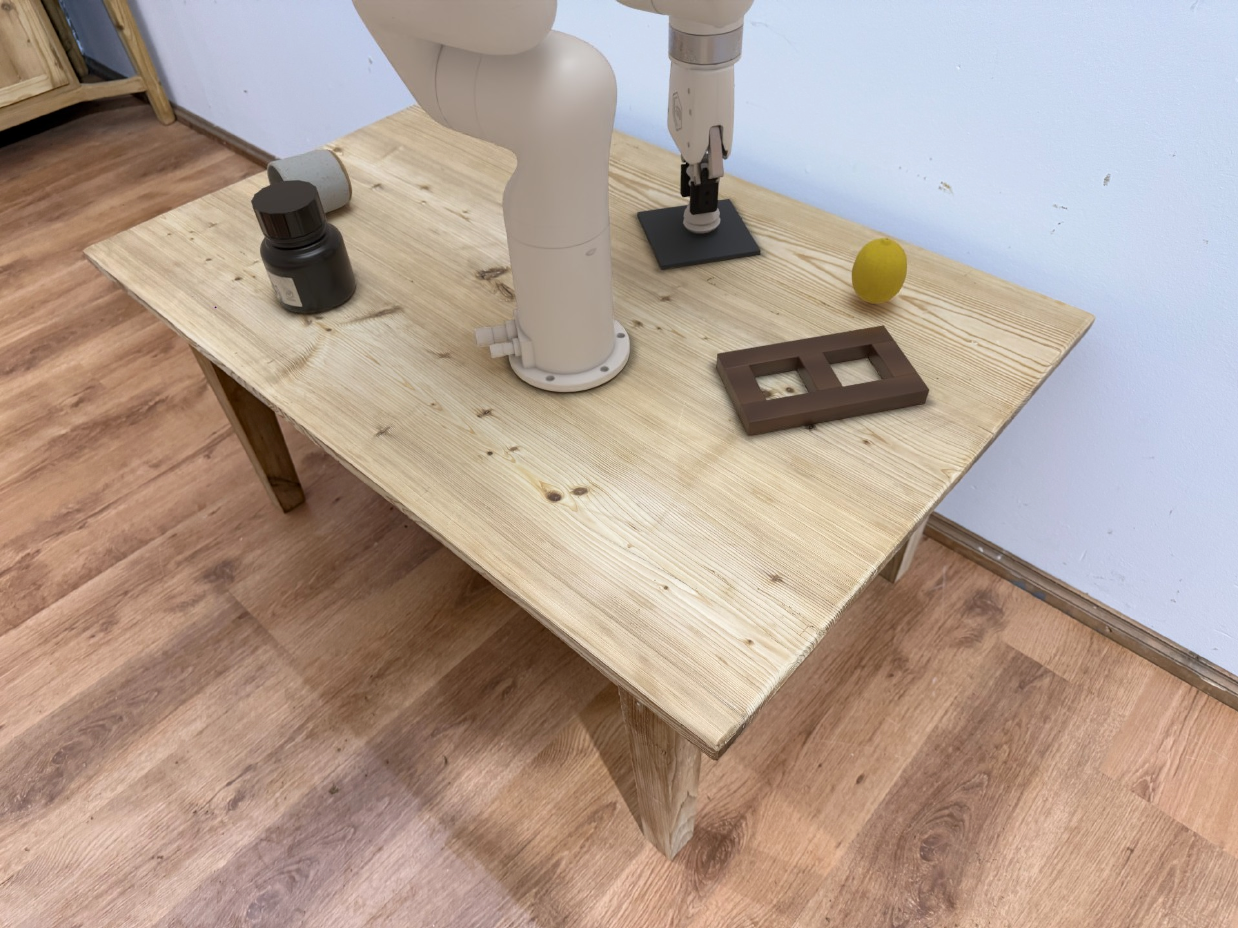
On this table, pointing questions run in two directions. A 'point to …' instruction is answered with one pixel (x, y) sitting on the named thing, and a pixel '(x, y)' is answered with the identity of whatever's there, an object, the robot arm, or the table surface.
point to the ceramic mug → (316, 175)
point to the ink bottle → (302, 248)
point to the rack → (819, 380)
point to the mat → (696, 237)
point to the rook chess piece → (700, 221)
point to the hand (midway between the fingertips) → (698, 202)
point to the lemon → (879, 270)
